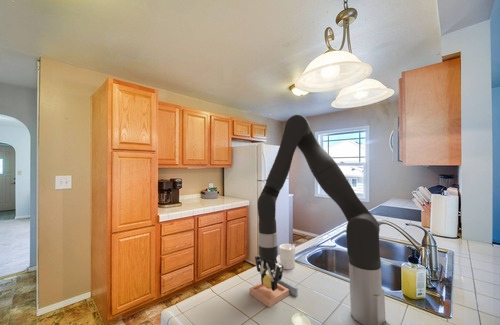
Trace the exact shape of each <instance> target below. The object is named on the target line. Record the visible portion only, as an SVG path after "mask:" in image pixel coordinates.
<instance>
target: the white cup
mask: <svg viewBox="0 0 500 325" xmlns="http://www.w3.org/2000/svg"><path fill="white" fill-rule="evenodd" d="M278 248H279V249H278V251H279V259H280V260H279V261H280V265H283V270H289V271H290V270H293V269H295V266H296V265H295V264H296V263H295V262H296V246H295V245H294V244H291V243H282V244H280V245H278Z"/></svg>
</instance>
